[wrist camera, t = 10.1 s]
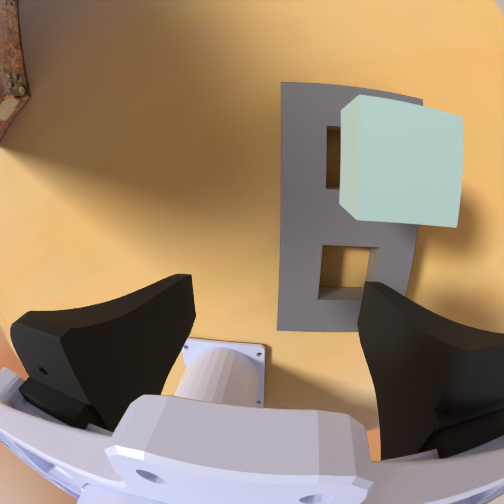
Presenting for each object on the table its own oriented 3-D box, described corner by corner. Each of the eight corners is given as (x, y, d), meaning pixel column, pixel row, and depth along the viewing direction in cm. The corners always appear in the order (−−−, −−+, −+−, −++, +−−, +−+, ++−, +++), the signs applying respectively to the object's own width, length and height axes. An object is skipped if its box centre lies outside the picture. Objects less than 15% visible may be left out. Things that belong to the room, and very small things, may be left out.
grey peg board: (388, 316, 22) (395, 330, 20) (277, 315, 23) (276, 330, 21) (410, 103, 16) (422, 99, 14) (281, 89, 17) (280, 82, 15)
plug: (402, 201, 14) (456, 227, 9) (330, 196, 15) (356, 220, 9) (405, 127, 13) (462, 116, 7) (332, 117, 13) (359, 94, 8)
